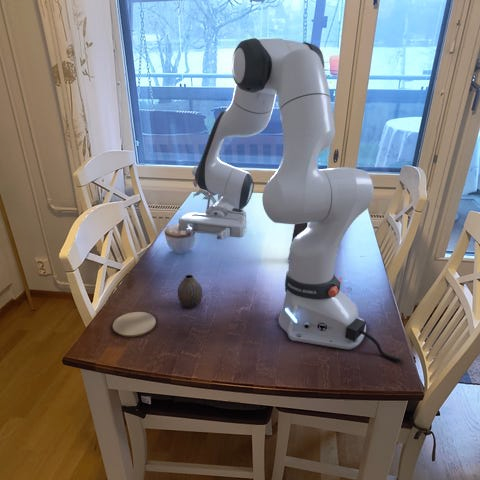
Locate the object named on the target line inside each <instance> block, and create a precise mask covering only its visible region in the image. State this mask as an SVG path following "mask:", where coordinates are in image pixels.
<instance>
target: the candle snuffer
mask: <svg viewBox="0 0 480 480" xmlns="http://www.w3.org/2000/svg"><path fill="white" fill-rule="evenodd" d="M308 225H309V224H308V223H301V224H294V225H293V226H294V227H293V233H292V238H291V242H290V244H291V243H292V241H293V239H294V238H295V237H296V236H297V235H299V234H300V233H301V232H303V231H304V230H305V229H306V228H307V226H308ZM289 253H290V251H289ZM289 253H288V254H289ZM287 257H288V258H287V260H288V261H289V256H287Z"/></svg>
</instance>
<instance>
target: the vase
mask: <svg viewBox="0 0 480 480" xmlns="http://www.w3.org/2000/svg"><path fill="white" fill-rule="evenodd" d="M176 292H177V298H178V301H179V303H180V304H181V305H182V306H183V307H184V308H185V307H186V308H188V309H192V308H195V307H198V305H200V303H201V302H202V299H203V287H202V286H201V283H200V282H199V281H198V280H197V279H196V278H195V277H194V275H192V274H185V275H184V277H183V279H182V280H181V281H180V283H179V284H178V287H177V291H176Z"/></svg>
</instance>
